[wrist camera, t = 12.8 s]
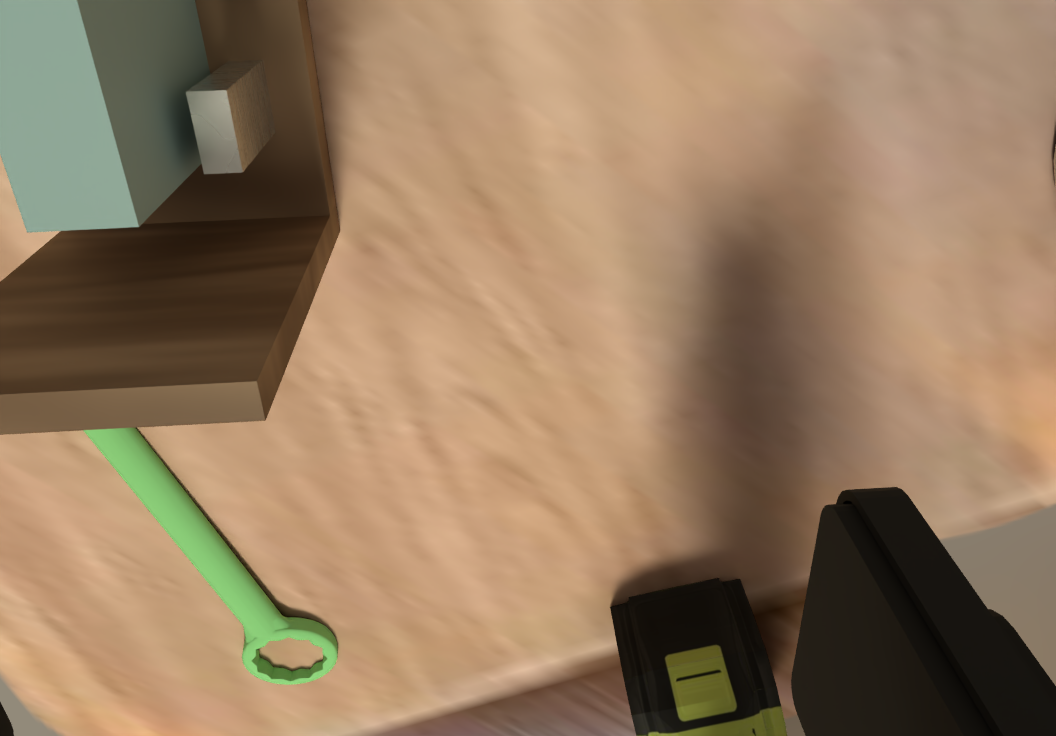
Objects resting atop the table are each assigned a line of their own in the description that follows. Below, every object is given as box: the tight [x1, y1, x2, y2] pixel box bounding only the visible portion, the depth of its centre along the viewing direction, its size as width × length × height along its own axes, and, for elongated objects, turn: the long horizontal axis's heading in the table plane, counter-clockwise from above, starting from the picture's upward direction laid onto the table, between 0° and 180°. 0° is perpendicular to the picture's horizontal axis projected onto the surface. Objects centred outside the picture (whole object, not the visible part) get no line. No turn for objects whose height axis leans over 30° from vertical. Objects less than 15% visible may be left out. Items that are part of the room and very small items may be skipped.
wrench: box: [83, 428, 338, 685], centre depth 41 cm, size 25×2×5 cm
